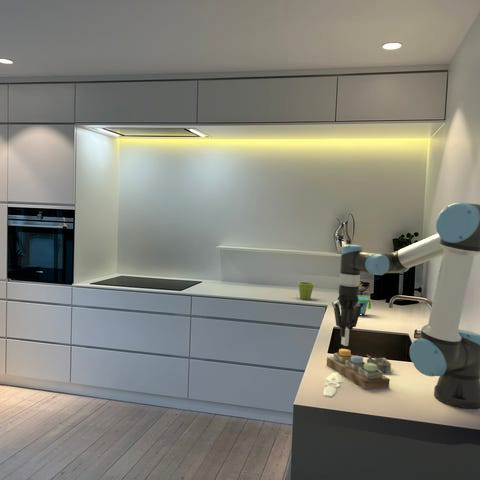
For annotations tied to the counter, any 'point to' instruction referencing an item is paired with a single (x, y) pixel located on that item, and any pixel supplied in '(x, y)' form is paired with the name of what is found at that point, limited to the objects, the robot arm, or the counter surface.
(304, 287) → the plant pot
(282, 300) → the counter surface
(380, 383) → the wooden tray
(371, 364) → the sage button
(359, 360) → the slate button
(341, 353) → the orange button
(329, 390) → the cream scalloped strip
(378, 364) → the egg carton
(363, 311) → the snack cup
